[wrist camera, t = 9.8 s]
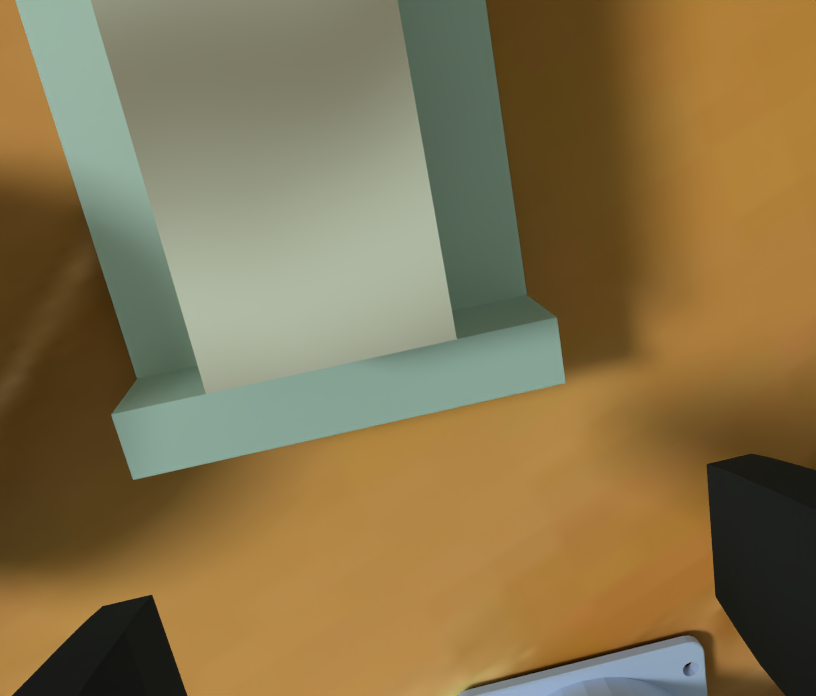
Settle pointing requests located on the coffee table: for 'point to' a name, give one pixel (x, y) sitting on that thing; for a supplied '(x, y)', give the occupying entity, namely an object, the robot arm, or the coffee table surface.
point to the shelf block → (282, 179)
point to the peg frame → (334, 386)
